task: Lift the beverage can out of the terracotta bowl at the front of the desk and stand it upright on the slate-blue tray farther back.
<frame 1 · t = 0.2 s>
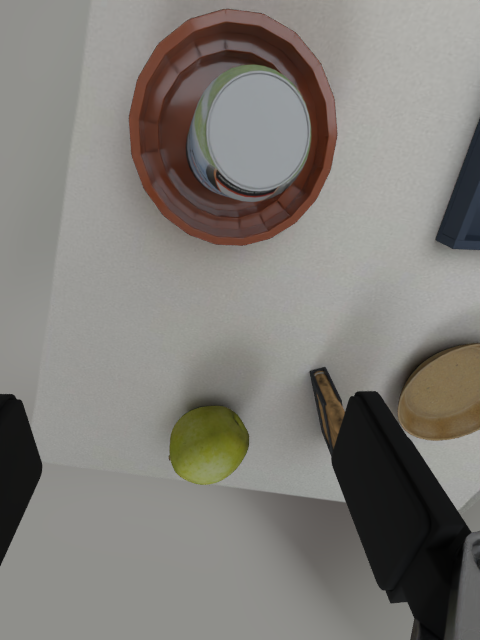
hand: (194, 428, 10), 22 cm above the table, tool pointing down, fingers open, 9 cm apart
ammunition clip: (323, 400, 41), on the table
bowl: (230, 141, 26), on the table
plant saucer: (446, 381, 42), on the table
beverage can: (230, 141, 26), resting on bowl
apple: (206, 414, 41), on the table
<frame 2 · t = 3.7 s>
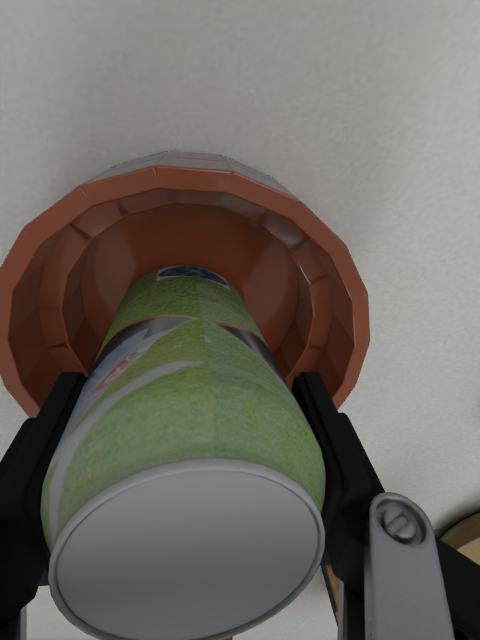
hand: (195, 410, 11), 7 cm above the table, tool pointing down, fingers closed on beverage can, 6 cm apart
ammunition clip: (330, 560, 32), on the table
bowl: (194, 301, 17), on the table
beverage can: (193, 303, 17), resting on bowl, touching gripper
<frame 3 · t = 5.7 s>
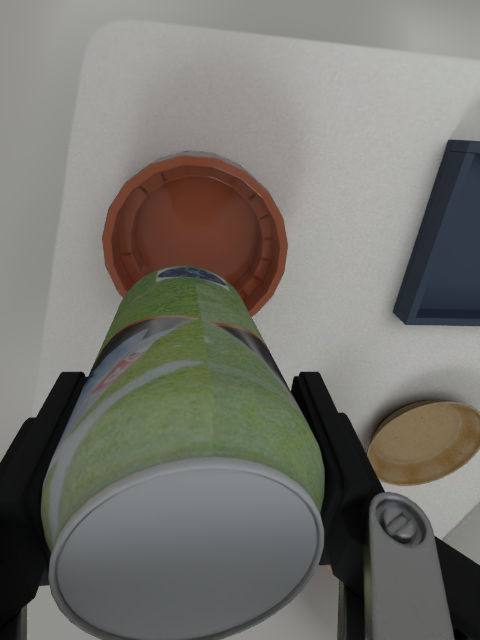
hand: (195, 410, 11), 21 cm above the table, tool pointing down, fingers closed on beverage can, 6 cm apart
bowl: (198, 237, 29), on the table
plant saucer: (413, 430, 44), on the table
beverage can: (192, 304, 17), point 14 cm above the table, touching gripper
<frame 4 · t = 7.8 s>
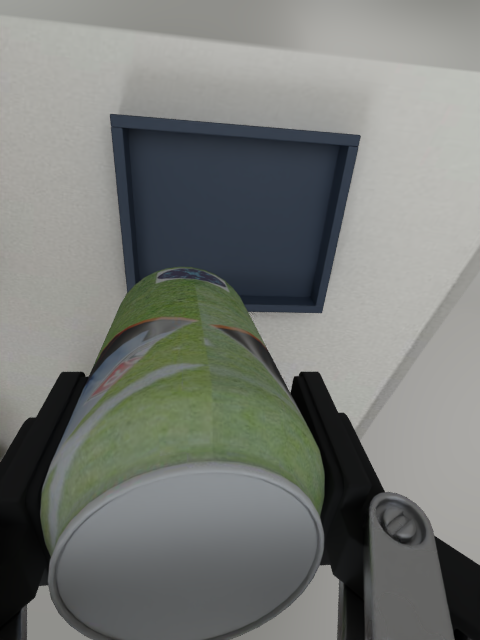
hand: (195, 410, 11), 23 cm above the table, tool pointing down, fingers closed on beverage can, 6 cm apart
tray: (231, 222, 31), on the table
beverage can: (192, 305, 17), point 16 cm above the table, touching gripper
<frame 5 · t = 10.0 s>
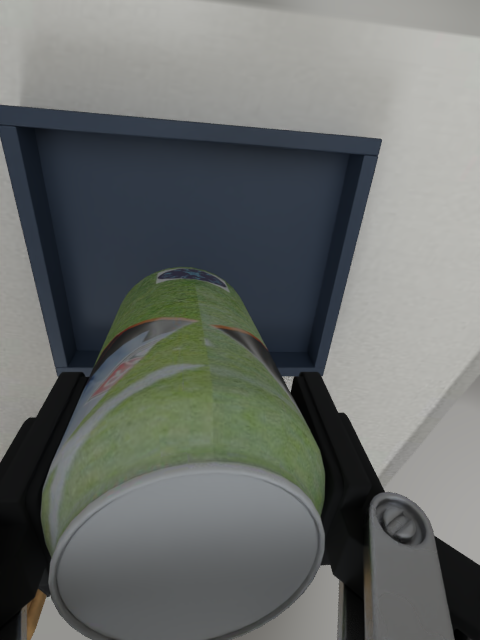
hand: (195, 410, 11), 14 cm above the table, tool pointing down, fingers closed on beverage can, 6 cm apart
ammunition clip: (34, 515, 35), on the table
tray: (198, 258, 23), on the table
beverage can: (192, 305, 17), point 7 cm above the table, touching gripper
when the fingers open (7 cm above the table, at t = 12.1 s): beverage can stays where it is, resting on tray.
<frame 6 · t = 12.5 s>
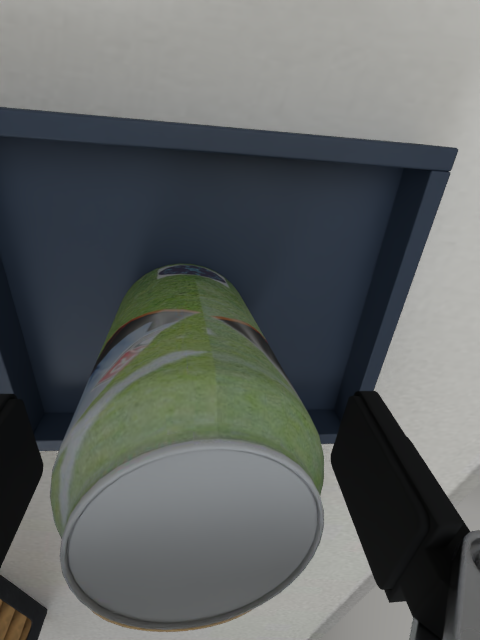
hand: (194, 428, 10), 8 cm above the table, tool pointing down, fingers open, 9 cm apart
ammunition clip: (5, 585, 29), on the table
tray: (198, 300, 17), on the table
plant saucer: (182, 556, 30), on the table
beverage can: (192, 302, 17), resting on tray
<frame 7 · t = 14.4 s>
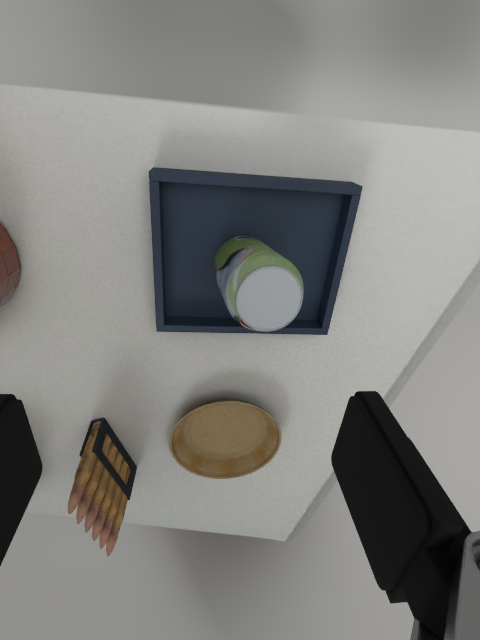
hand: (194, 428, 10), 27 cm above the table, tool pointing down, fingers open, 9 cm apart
ammunition clip: (115, 444, 47), on the table
tray: (248, 256, 35), on the table
plant saucer: (224, 427, 48), on the table
beverage can: (245, 256, 35), resting on tray
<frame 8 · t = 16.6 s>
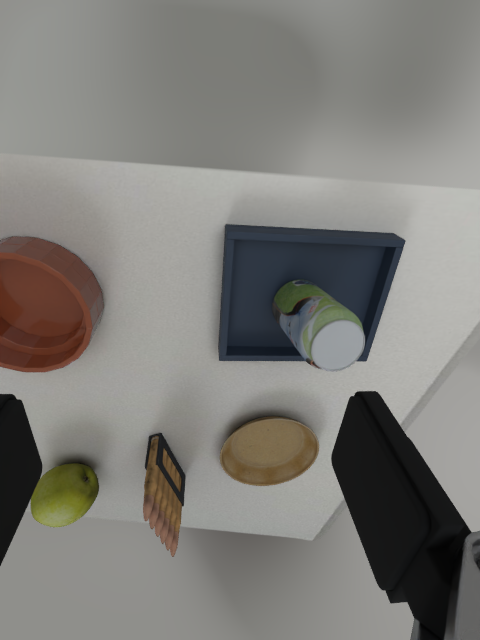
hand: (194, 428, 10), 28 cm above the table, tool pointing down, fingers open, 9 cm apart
ammunition clip: (168, 456, 52), on the table
tray: (300, 294, 40), on the table
bowl: (40, 295, 37), on the table
plant saucer: (266, 439, 53), on the table
beverage can: (298, 295, 40), resting on tray
apple: (74, 467, 52), on the table
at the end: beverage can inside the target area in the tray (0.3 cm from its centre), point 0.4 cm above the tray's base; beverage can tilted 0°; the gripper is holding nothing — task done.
